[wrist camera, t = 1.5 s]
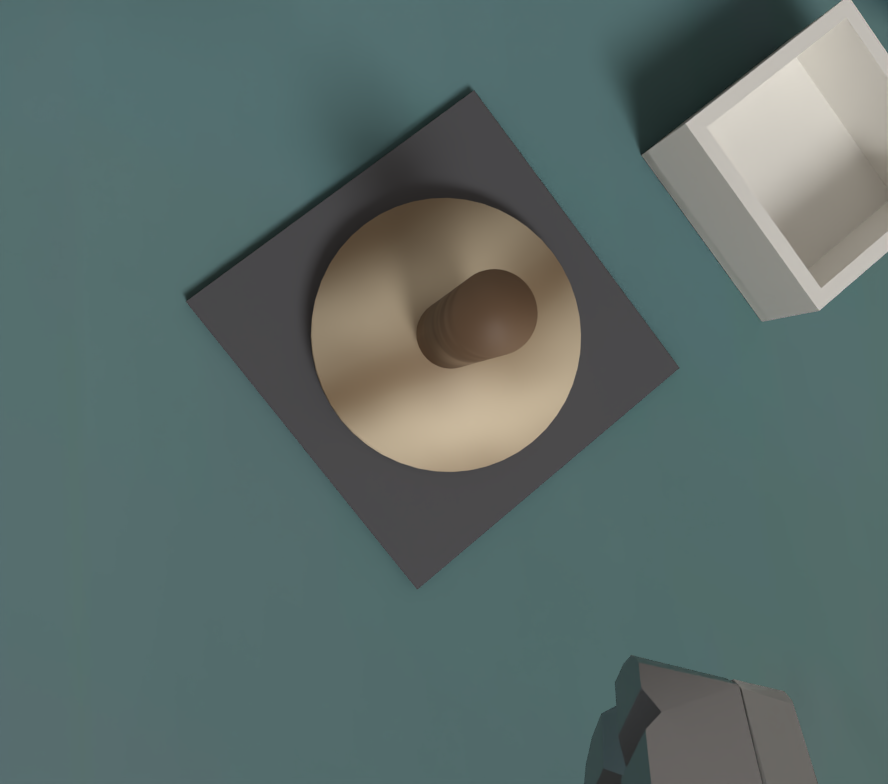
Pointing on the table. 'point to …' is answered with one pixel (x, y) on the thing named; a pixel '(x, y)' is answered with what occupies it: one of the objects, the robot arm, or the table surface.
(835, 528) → the table surface
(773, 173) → the white hollow square box
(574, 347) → the lid
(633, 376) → the mat
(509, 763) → the table surface
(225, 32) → the table surface
